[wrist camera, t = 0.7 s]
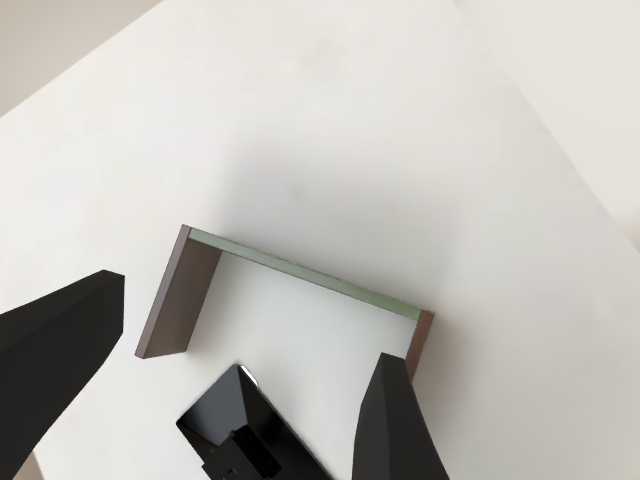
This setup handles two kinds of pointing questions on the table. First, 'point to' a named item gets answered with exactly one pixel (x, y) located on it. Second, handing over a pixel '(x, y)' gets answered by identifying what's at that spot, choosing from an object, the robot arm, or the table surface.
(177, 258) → the stall
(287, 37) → the table surface
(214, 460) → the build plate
